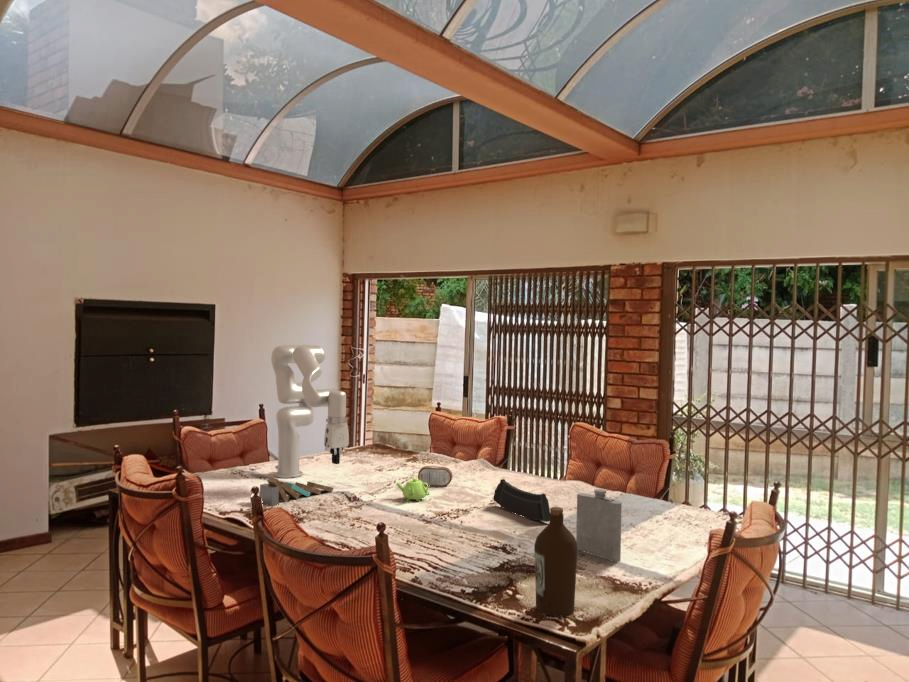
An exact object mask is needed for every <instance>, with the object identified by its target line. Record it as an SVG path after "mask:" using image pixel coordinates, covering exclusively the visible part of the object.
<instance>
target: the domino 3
mask: <svg viewBox="0 0 909 682" xmlns="http://www.w3.org/2000/svg"><path fill="white" fill-rule="evenodd" d="M284 483H286V484H287V485H288V486H289V487H290V488H292V489H293V490H294V491H295V492H296V493H298V494H299V495H300V496H303V495H304V497H307V498H309V497H310V496H311V492H309V491H306V490H304V489H302V488H300V487H298V486H296V485H295V483H291V482H287V481H285V482H284ZM308 496H309V497H308Z"/></svg>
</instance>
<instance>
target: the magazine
mask: <svg viewBox="0 0 909 682" xmlns="http://www.w3.org/2000/svg"><path fill="white" fill-rule="evenodd" d="M493 493H494V494H493V498H492V499H493V501H494V502H496V504H498V505H499V506H500V507H503V509H504V510H507V511H508V512H510V513H512V512H513V513H512V514H514V513H516V514H518V515H517V516H519V515H522V516H524V517H526V518H525V519H528V518H529V519H528V520H534V521H540V522H545V523H549V522H550V513H551V511H550V503H549V499H548V498H547V494H546V493H539V494H538V493H532V492H529V491H525V490H522V489H520V488H518V487H516V486H514V485H512V484H511V483H509V482H507V481H506V479H505V478H503V479H502V478H501V479H500V481H499V483H498V484H497V486H496V488H495V490H494V492H493ZM516 514H515V515H516ZM524 517H523V518H524Z"/></svg>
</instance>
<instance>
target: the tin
mask: <svg viewBox="0 0 909 682" xmlns="http://www.w3.org/2000/svg"><path fill="white" fill-rule="evenodd" d="M417 480H421V481H422V483H427V484H428V485H431V486H430V487H447V486H448V485H450V483H451V482H452V480H453V473H452V470H451V469H449V468H448V467H447V466H433V465H425V466H422V467H420V469H419V471H418V473H417ZM425 485H426V484H424V486H425Z"/></svg>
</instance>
